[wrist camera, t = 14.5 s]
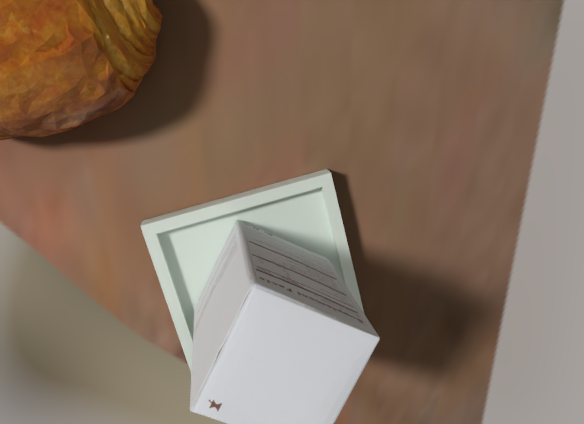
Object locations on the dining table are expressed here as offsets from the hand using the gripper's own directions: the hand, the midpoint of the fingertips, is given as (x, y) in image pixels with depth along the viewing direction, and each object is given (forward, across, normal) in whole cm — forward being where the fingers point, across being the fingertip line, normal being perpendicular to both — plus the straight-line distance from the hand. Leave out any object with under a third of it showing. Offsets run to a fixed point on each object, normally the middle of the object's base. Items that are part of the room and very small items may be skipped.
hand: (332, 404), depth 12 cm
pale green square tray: (+27, -1, -8) cm, 28 cm away
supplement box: (+26, -1, -8) cm, 28 cm away
